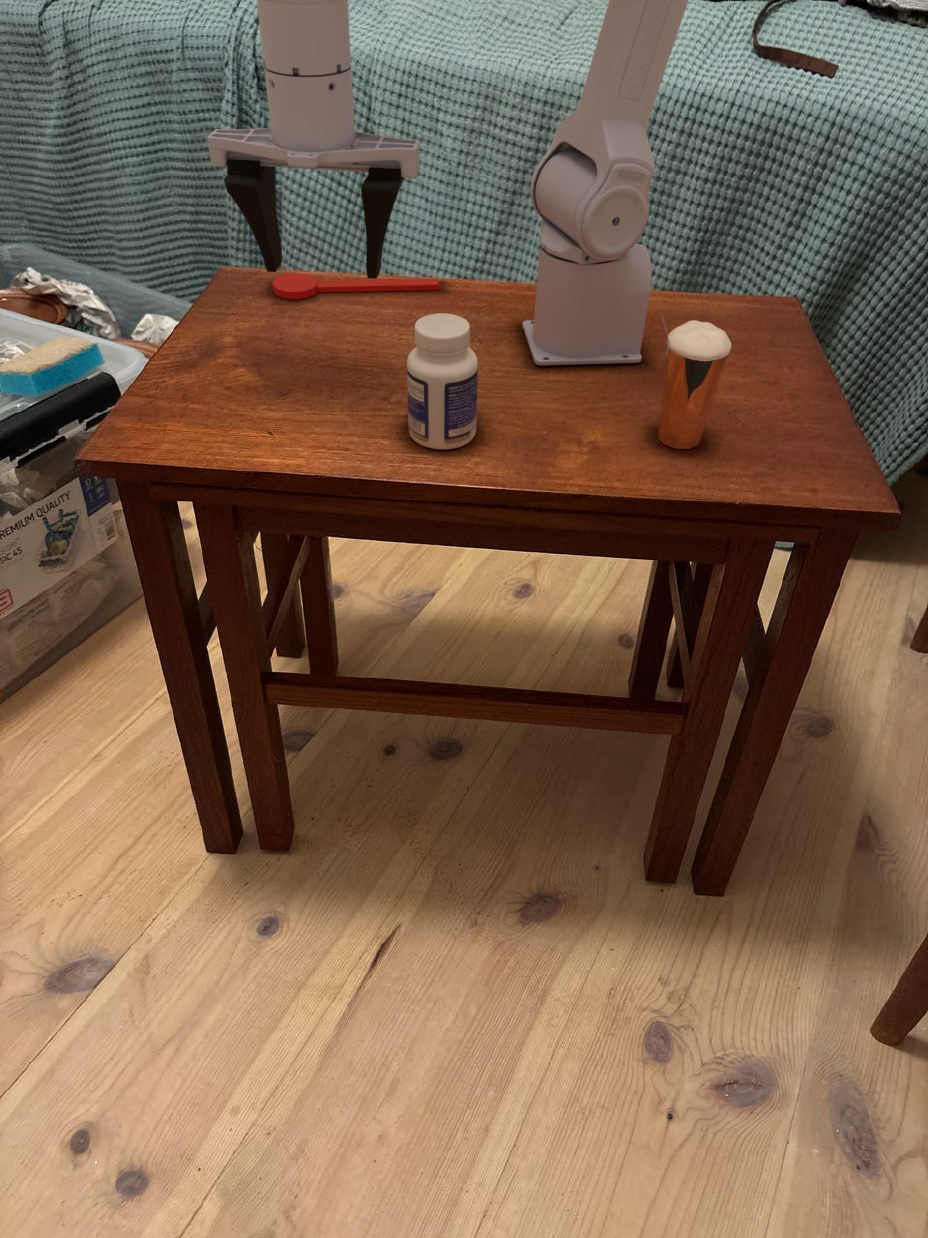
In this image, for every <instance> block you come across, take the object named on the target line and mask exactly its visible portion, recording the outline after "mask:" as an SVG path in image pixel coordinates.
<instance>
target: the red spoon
mask: <svg viewBox="0 0 928 1238" xmlns="http://www.w3.org/2000/svg"><path fill="white" fill-rule="evenodd" d="M439 290H440V283H439V279H438V278H409V279H408V278H406V279H405V278H404V279H403V278H402V279H362V280H361V279H358V280H357V279H354V280H353V279H352V280H351V279H350V280H349V279H347V280H318V278H317V277H315V276H313V275H310V274H307V273H300V272H299V273H298V272H293V273H286V274H282V275H280V276H277V277H276V278H274V279H273V281H272V292H273V293H274V295H275V296H277V297H278V298H281V299H285V300H304V299H308V298H311V297H313V296H315V295H317V294H319V293H360V292H361V293H365V292H368V293H369V292H414V291H416V292H417V291H418V292H419V291H439Z"/></svg>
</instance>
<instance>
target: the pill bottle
mask: <svg viewBox="0 0 928 1238" xmlns="http://www.w3.org/2000/svg"><path fill="white" fill-rule="evenodd" d="M413 339H414V344H415V347H414V348H413V349H412V350H411V351H410V352H409V354H408V356H407V359H406V390H407V392H406V396H407V397H406V398H407V423H408V424H407V425H408V433H409V436H410V437H411V439H412V440H413V441H414V442H416V443H417V444H419V445H420V446H423V447H426V448H429V449H433V450H452V449H453V450H454V449H458V448H461V447H464V446H465V445H467V444H468V443H470V442H471V441H472V440H473V439H474V437H475V436H476V432H477V421H478V418H477V415H478V386H479V383H478V381H479V361H478V357H477V354H476V353H475V352H474V351H473V349H472V348H470V345H471V326H470V323H469V321H468V320H467V319H465V318H464V317H462V316H459V315H455V314H453V313H446V312H444V313H442V312H439V313H432V314H427V315H424V316H421V317H420V318H419V319H417V320H416V321H415V324H414V338H413Z"/></svg>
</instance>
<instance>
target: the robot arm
mask: <svg viewBox="0 0 928 1238" xmlns="http://www.w3.org/2000/svg"><path fill="white" fill-rule="evenodd" d="M688 3H689V0H608V4H607V8H606V11H605V14H604V17H603V22H602V24H601V29H600V32H599V35H598V39H597V42H596V45H595V50H594V52H593V57H592V59H591V62H590V67H589V69H588V73H587V77H586V80H585V83H584V87H583V91H582V94H581V97H580V101H579V103H578V107H577V108H576V109H575V110H574V111H573V112H571V113H570V114H569V115H567V116H566V117H565V118H564V119H563V120H562V121H561V122H560V123H558V125H557V126H556V128H555V132H554V136H553V139H552V142H551V144H550V147H549V149H548V150H547V151H546V153H545V155H544V156H543V157H542V158H541V160H540V161H539V162H538V164H537V165H536V167H535V169H534V170H533V171H534V172H533V174H532V177H531V181H530V187H529V193H530V194H529V196H530V201H531V205H532V207H533V209H534V211H535V213H536V214H537V215H538V216H539V217H540V218H541V225H540V239H539V240H540V242H539V243H540V244H539V253H538V263H537V275H536V276H537V277H536V288H535V302H534V303H535V304H534V313H533V314H534V315H533V320H532V319H530V320H529V319H527V320H523V321H522V326H521V327H522V330H523V332H524V335H525V339H526V342H527V345H528V347H529V350H530V354H531V356H532V359H533V362H534V364H535V365H537V366H568V365H569V366H572V365H573V366H574V365H604V364H605V365H607V364H608V365H609V364H638V363H641V362H642V358H643V357H642V354H641V349H642V343H643V337H644V331H645V326H646V320H647V313H648V307H649V302H650V297H651V288H652V261H651V256H650V255H651V254H650V253H649V249H648V248H647V246H646V245H644V244H642V243H641V244H640V243H638V242H639V240H640V239H641V237H642V235H643V233H644V231H645V229H646V227H647V224H648V222H649V221H648V220H649V217H650V195H649V194H650V188H651V183H652V180H653V177H654V174H655V171H656V164H655V159H654V157H653V156H654V155H653V152H652V149H651V145H650V142H649V138H648V135H647V127H648V123H649V121H650V118H651V114H652V112H653V109H654V105H655V102H656V99H657V96H658V94H659V90H660V87H661V84H662V81H663V78H664V75H665V72H666V69H667V66H668V63H669V60H670V57H671V54H672V52H673V48H674V45H675V42H676V39H677V36H678V33H679V30H680V28H681V24H682V22H683V18H684V15H685V12H686V9H687V6H688ZM256 6H257V16H258V26H259V34H260V43H261V52H262V62H263V69H264V79H265V87H266V88H265V89H266V97H267V104H268V105H267V107H268V115H269V116H268V117H269V122H270V123H269V125H270V127H263V128H262V127H261V128H241V129H240V128H239V129H237V128H236V129H235V128H234V129H232V128H231V129H230V128H229V129H228V128H227V129H224V128H223V129H221V128H215V129H214V130H213V131H212V132H211V133H210V134H209V135H208V136H207V144H208V151H209V159H210V164H211V167H216V168H226V167H227V170H226V174H227V175H226V176H225V177H224V178H223V183H224V186H225V187H224V188H225V190H226V192H227V194H228V195H229V196H230V197H231V199H232V200H233V202H234V203H235V205H236V206H237V207H238V209H239V210H240V212H241V214H242V215H243V217H244V219H245V221H246V222H247V224H248V226H249V228H250V230H251V233H252V234H253V236H254V239H255V241H256V244H257V246H258V248H259V251H260V254H261V256H262V259H263V262H264V265H265V269H266V272H268V273H277V271H278V270H279V268H280V266H281V264H282V263H283V249H282V248H283V247H282V241H281V240H282V239H281V233H280V227H279V222H278V213H277V195H276V194H277V193H276V168H288V169H289V168H291V169H303V170H304V169H306V170H307V169H308V170H322V171H339V172H340V171H341V172H358V173H368V175H366V177H365V178H364V181H362V182H363V183H362V184H361V186H360V194H361V200H362V206H363V207H362V208H363V215H364V225H365V232H366V233H365V237H366V246H365V247H366V250H365V251H366V252H365V258H366V259H365V267H366V269H365V270H366V278H367V279H371V280H377V279H378V277H379V274H380V272H381V270H382V257H383V256H382V255H383V250H384V249H383V248H384V244H385V238H386V233H387V229H388V226H389V222H390V219H391V215H392V212H393V209H394V206H395V203H396V200H397V198H398V195H399V193H400V189H401V187H402V184H403V183H404V179H416V178H417V177H418V174H419V171H420V167H421V166H420V163H421V162H420V140H417V139H405V138H397V137H393V136H385V135H379V134H372V133H369V132H363V131H356V130H355V110H354V109H355V108H354V93H353V92H354V91H353V90H354V89H353V73H352V55H351V53H352V52H351V37H350V36H351V34H350V16H349V15H350V14H349V0H256Z"/></svg>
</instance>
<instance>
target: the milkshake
mask: <svg viewBox="0 0 928 1238" xmlns="http://www.w3.org/2000/svg"><path fill="white" fill-rule="evenodd" d="M661 319H662V324H663V326H664V331H665V335H666V353H665V362H664V363H665V365H664V381H663V391H662V392H663V394H662V401H661V410H660V419H659V426H658V434H657V435H658V436H657V438H658V440H659V441H660V442H661V443H662V444H663V445H664V446H666V447H669V448H672V449H675V450H690V449H691V450H692V448H694V447H696V446H698V445H700V441H701V439H702V435H703V432H704V429H705V426H706V423H707V420H708V416H709V414H710V411H711V408H712V405H713V401H714V399H715V395H716V391H717V389H718V386H719V384H720V382H721V381H720V380H721V378H722V375H723V373H724V370H725V366H726V364H727V361H728V358H729V356H730V352H731V349H732V342H731V340H730V338H729V336H728V334H727V333H726V331H725V330H723V329H722V328H719V327H717V326H716V325H714V324H713V323H711V322H708V321H699V320H695V319H694V320H693V319H692V320H689V321H687V322H685V323H683V324H681V325H679V326H677V327H674V329H672V330H671V331H670V332H669V333H668V331H667V330H668V329H667V326H666V323H665V320H664V317H663V316H661Z"/></svg>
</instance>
